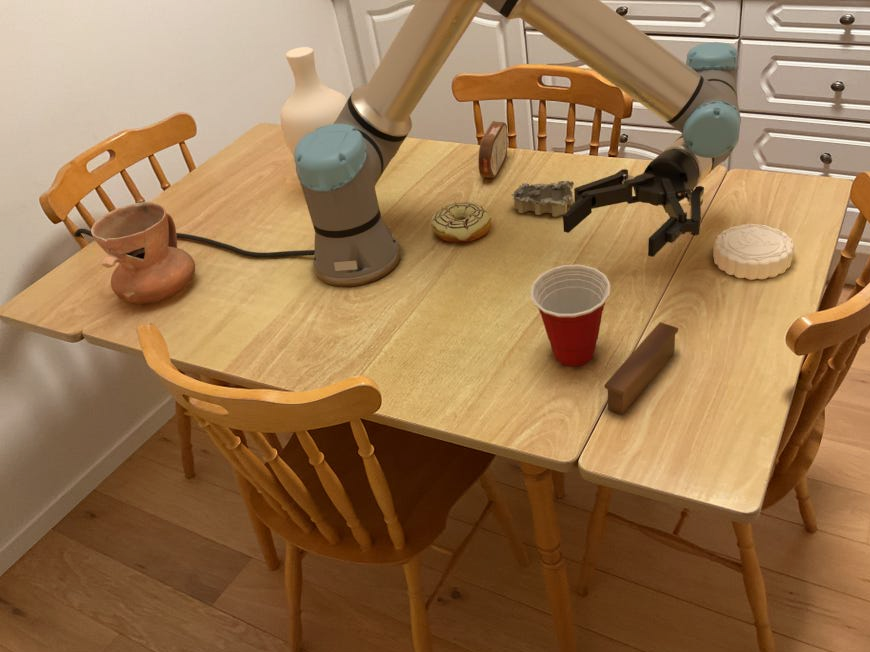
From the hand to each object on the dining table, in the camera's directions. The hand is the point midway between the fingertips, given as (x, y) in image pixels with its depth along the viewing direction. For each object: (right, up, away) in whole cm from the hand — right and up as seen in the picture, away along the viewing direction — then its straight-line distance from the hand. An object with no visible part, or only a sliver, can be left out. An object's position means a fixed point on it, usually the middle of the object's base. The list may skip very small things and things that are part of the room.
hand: (606, 235), depth 107 cm
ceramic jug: (-75, -4, +32) cm, 82 cm away
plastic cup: (-4, -17, +4) cm, 18 cm away
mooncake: (+26, -1, +17) cm, 31 cm away
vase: (-48, +19, +55) cm, 76 cm away
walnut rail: (+5, -20, -2) cm, 21 cm away
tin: (-14, +22, +53) cm, 59 cm away
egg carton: (-6, +11, +38) cm, 40 cm away
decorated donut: (-21, +6, +35) cm, 41 cm away
